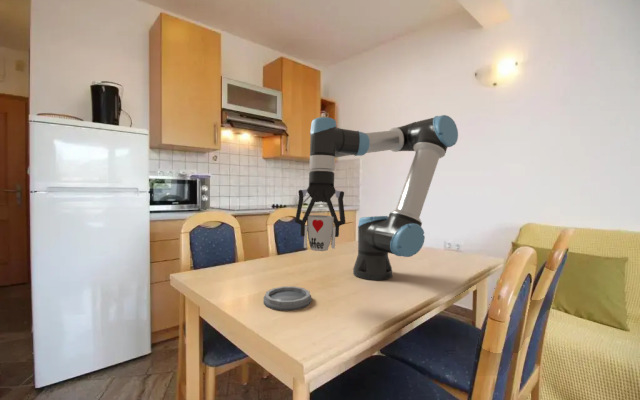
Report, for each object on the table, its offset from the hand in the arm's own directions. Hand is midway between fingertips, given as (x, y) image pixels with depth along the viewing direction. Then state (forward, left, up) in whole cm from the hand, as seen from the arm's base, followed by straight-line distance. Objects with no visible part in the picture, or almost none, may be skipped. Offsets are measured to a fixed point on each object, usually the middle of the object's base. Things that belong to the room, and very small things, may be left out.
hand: (319, 247), depth 88 cm
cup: (0, 0, -1) cm, 1 cm away
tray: (+9, +1, -16) cm, 18 cm away
